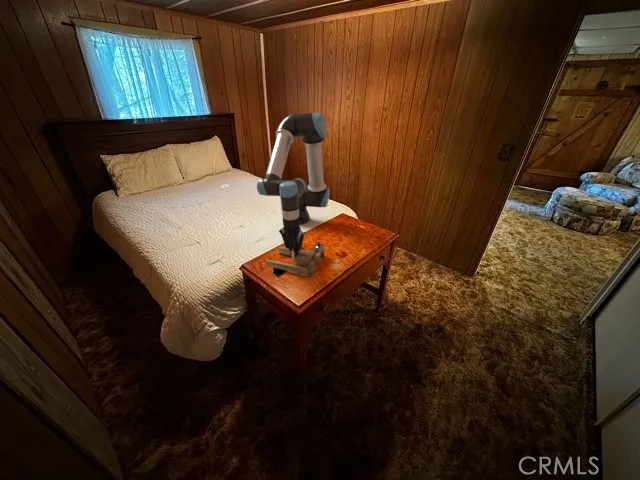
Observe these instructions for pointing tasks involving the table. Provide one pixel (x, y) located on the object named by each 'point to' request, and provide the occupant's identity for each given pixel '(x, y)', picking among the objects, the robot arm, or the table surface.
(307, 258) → the crate
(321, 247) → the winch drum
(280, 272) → the smartphone
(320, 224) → the table surface
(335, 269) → the table surface
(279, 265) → the bay
